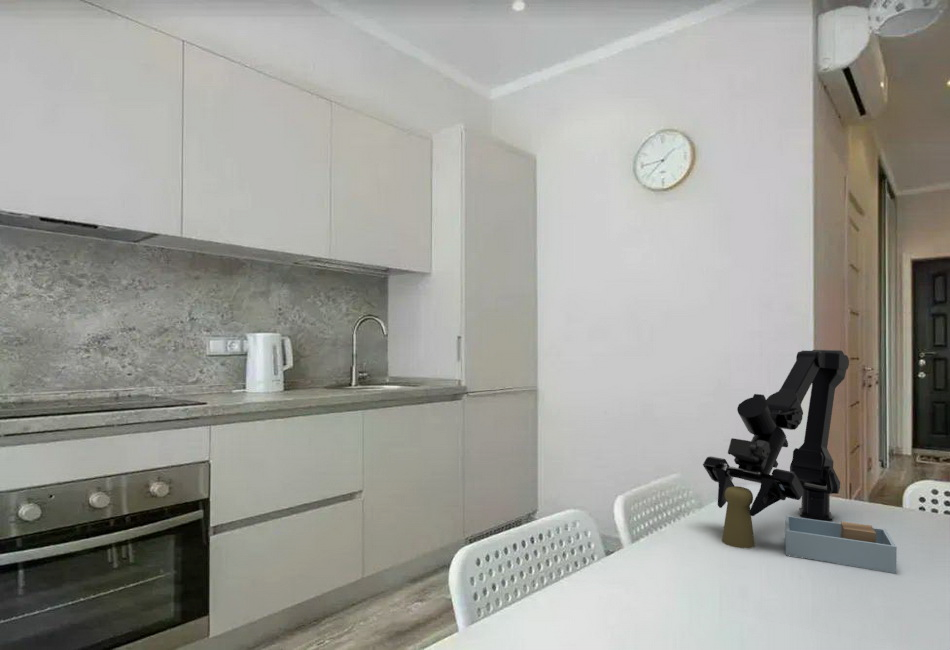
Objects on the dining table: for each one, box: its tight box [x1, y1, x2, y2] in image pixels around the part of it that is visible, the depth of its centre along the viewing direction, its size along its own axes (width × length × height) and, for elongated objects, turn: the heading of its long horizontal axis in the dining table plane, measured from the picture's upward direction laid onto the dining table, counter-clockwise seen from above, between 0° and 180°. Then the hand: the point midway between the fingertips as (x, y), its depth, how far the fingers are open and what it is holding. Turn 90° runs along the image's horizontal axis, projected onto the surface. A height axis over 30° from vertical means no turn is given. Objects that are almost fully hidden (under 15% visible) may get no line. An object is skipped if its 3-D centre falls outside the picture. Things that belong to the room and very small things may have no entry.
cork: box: [721, 485, 756, 549], centre depth 119 cm, size 6×6×11 cm
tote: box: [784, 515, 897, 574], centre depth 113 cm, size 11×17×5 cm, turn 63°
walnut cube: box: [840, 521, 876, 543], centre depth 112 cm, size 5×5×5 cm
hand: (734, 510), depth 118 cm, fingers open, 6 cm apart
